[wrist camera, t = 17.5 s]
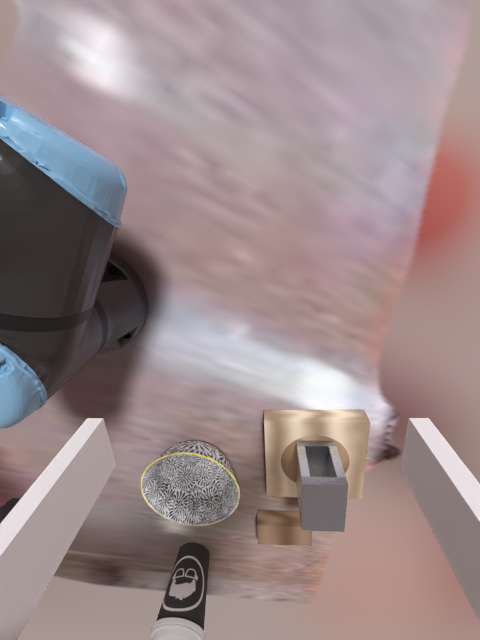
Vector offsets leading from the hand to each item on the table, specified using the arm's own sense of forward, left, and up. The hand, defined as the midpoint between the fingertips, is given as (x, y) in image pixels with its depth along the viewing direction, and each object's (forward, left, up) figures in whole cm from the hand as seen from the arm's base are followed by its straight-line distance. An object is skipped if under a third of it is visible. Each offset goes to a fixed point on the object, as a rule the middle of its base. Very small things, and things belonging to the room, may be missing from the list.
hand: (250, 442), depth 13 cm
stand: (+3, -48, -31) cm, 57 cm away
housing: (+8, -30, -28) cm, 42 cm away
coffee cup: (-16, -59, -31) cm, 68 cm away
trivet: (+8, -30, -31) cm, 44 cm away
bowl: (-12, -32, -31) cm, 46 cm away
